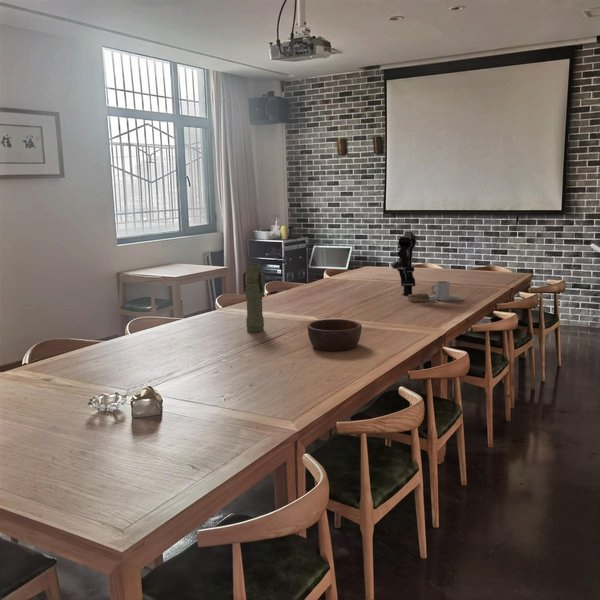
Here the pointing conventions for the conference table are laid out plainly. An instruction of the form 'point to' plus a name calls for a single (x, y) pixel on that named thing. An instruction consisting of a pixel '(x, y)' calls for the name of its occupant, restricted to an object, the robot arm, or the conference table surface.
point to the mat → (452, 299)
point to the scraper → (420, 297)
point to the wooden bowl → (334, 334)
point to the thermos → (254, 297)
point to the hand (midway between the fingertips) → (404, 281)
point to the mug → (441, 290)
